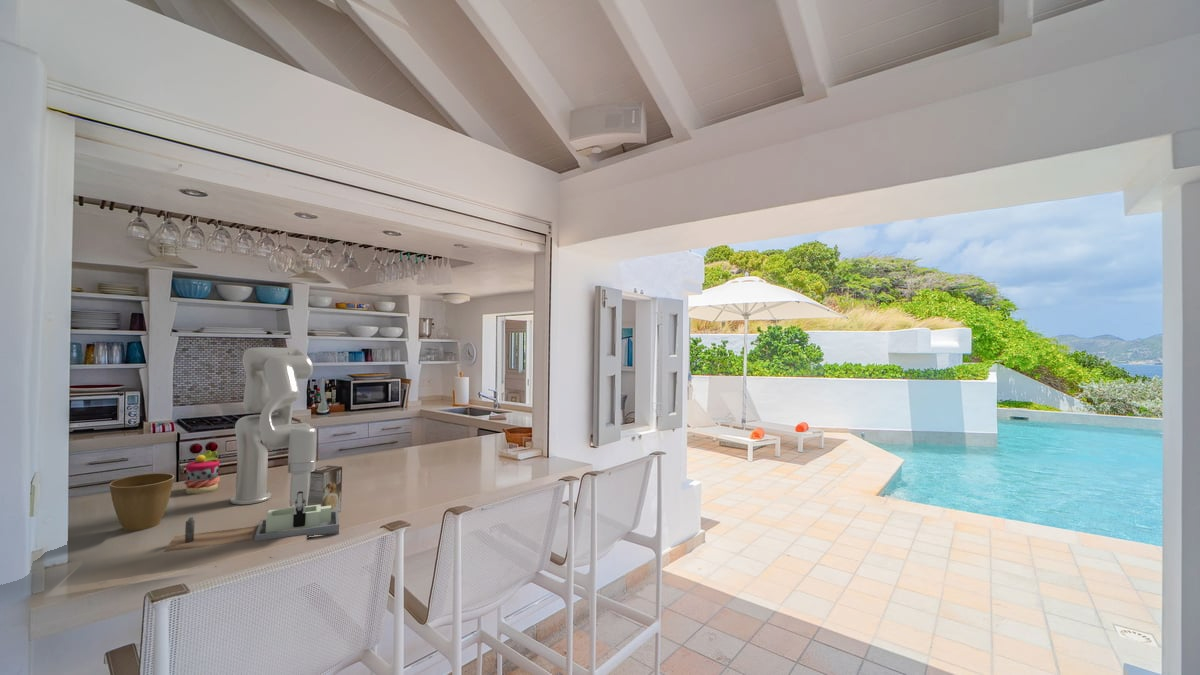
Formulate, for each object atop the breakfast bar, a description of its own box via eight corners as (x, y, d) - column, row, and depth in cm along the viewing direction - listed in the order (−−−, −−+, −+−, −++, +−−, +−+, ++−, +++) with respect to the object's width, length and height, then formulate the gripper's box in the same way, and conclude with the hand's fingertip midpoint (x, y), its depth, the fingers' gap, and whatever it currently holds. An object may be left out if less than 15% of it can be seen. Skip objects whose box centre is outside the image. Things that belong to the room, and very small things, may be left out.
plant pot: (112, 527, 157) (114, 476, 157) (174, 519, 165) (176, 470, 166) (102, 544, 145) (104, 489, 145) (169, 533, 153) (171, 482, 154)
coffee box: (326, 509, 179) (327, 464, 179) (341, 511, 178) (343, 466, 178) (306, 518, 170) (308, 471, 170) (322, 520, 169) (324, 472, 169)
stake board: (174, 541, 148) (175, 514, 148) (255, 530, 158) (256, 505, 158) (163, 557, 138) (164, 528, 138) (251, 545, 147) (252, 518, 147)
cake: (209, 494, 192) (211, 455, 192) (178, 495, 189) (179, 455, 189) (224, 486, 202) (225, 449, 202) (194, 487, 200) (195, 449, 200)
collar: (268, 524, 157) (268, 510, 157) (330, 516, 166) (331, 503, 166) (265, 532, 151) (266, 517, 151) (330, 524, 159) (331, 510, 159)
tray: (260, 529, 159) (260, 519, 159) (337, 519, 170) (338, 510, 170) (254, 545, 147) (255, 535, 147) (338, 533, 158) (339, 524, 158)
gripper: (289, 461, 164) (287, 515, 164) (286, 474, 149) (283, 533, 149) (315, 459, 168) (313, 511, 168) (314, 471, 153) (312, 529, 153)
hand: (299, 521), depth 158 cm, fingers closed on collar, 7 cm apart
